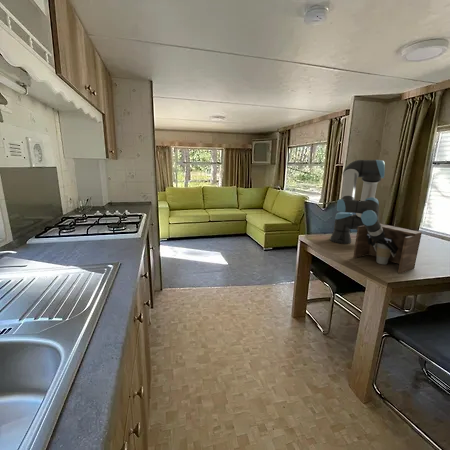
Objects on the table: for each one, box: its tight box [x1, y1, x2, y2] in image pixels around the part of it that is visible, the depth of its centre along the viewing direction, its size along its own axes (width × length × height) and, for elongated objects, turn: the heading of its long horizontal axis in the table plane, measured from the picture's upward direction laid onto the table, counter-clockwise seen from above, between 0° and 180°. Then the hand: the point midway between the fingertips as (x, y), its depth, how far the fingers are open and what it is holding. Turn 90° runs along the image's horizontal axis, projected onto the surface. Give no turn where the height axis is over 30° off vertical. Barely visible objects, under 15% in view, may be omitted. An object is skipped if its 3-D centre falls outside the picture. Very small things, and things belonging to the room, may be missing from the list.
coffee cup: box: [375, 240, 393, 265], centre depth 156 cm, size 9×9×15 cm
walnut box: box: [352, 223, 423, 274], centre depth 155 cm, size 28×16×22 cm, turn 30°
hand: (386, 253), depth 158 cm, fingers closed on coffee cup, 9 cm apart
